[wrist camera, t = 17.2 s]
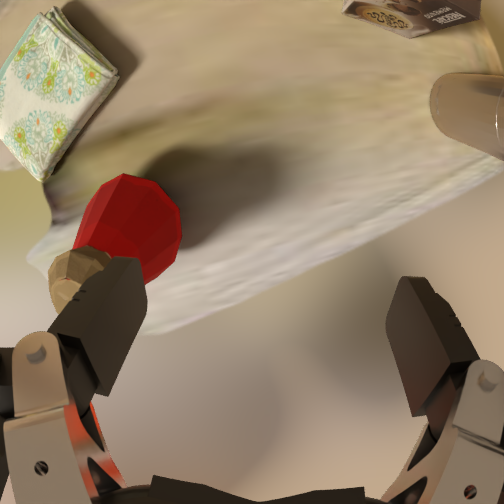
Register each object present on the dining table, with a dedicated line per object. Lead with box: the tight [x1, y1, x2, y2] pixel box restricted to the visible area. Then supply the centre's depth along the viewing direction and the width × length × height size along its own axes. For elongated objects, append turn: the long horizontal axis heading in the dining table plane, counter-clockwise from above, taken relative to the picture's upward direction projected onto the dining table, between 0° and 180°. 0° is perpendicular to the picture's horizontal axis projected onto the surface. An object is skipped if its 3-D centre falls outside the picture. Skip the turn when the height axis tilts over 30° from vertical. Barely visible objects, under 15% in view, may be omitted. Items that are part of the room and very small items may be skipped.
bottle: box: [48, 173, 182, 314], centre depth 33 cm, size 16×14×20 cm
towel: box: [0, 6, 120, 182], centre depth 31 cm, size 18×21×5 cm
